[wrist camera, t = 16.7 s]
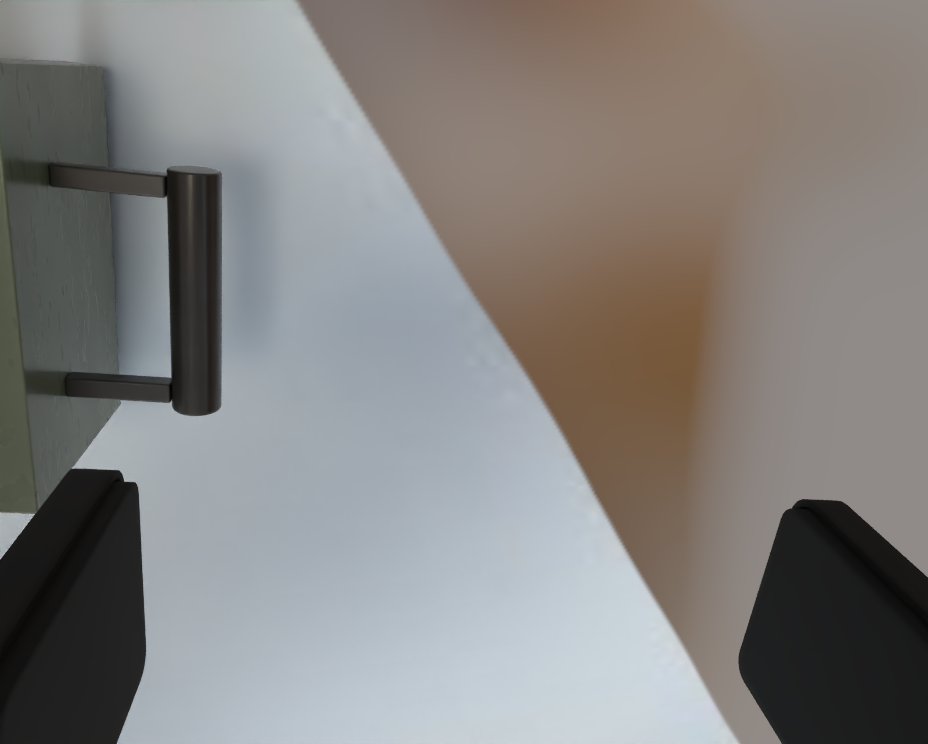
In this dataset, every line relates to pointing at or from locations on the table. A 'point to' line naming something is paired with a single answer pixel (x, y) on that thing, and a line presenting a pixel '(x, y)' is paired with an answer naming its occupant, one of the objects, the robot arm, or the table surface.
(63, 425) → the drawer
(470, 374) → the table surface
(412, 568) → the table surface
